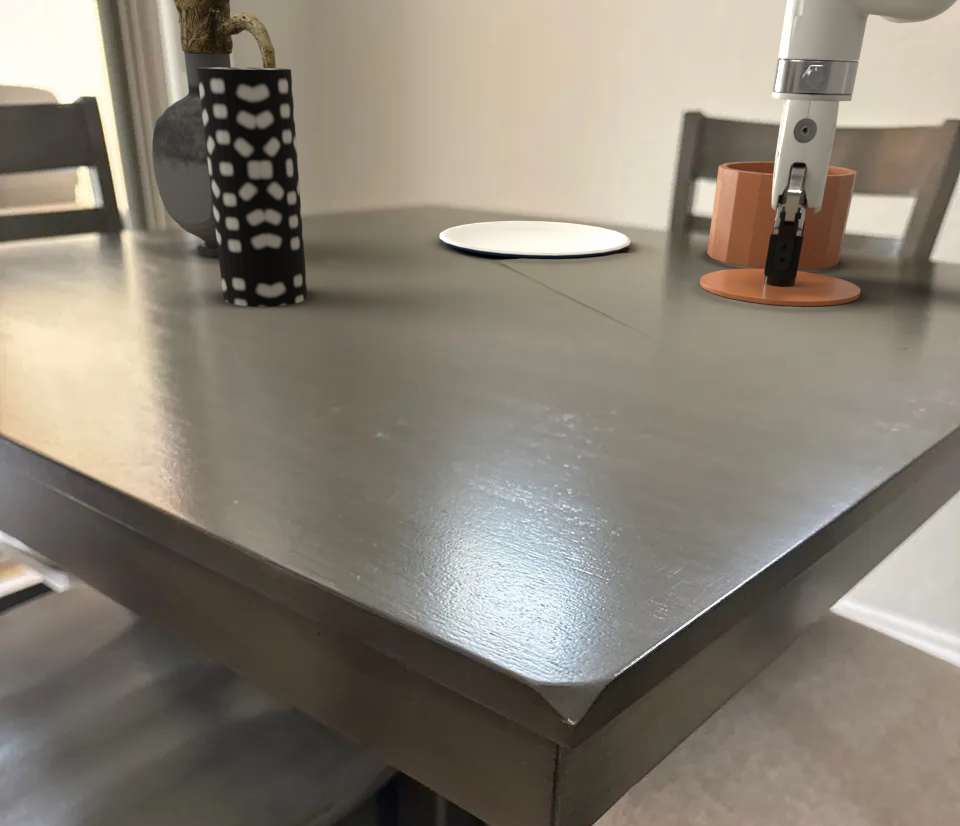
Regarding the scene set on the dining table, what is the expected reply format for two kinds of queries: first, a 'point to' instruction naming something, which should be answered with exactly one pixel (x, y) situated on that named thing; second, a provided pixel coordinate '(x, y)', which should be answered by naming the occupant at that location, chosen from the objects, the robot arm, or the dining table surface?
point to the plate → (534, 239)
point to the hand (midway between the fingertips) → (781, 268)
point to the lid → (780, 288)
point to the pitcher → (198, 116)
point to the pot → (751, 218)
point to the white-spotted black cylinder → (254, 183)
